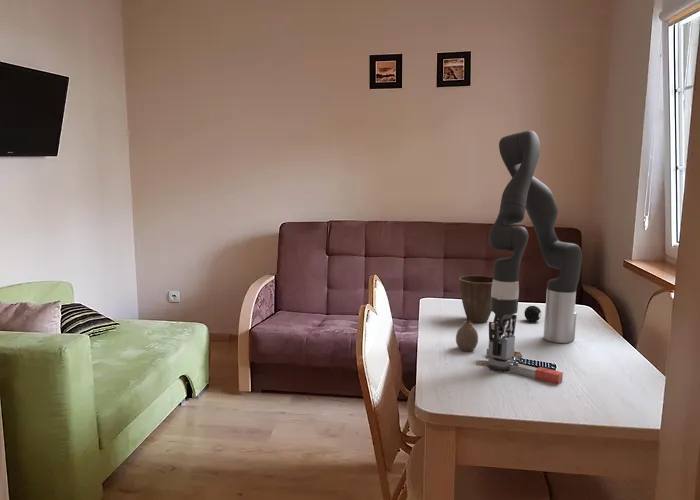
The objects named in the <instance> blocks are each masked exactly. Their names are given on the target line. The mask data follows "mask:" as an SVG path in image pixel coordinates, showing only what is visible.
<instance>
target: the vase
mask: <svg viewBox="0 0 700 500" xmlns="http://www.w3.org/2000/svg"><path fill="white" fill-rule="evenodd" d="M475 328H476V327H474V325H473V322H470V321H463V323H462V325H461V326H460V327H459V328H458V330H457V332H456V334H455V343H456V346H457V347H458V348H459V350H461V351H462V352H463V351H464V352H471V351H474V350H475V349H476V348H477V346H478V343H479V334H478V331H477V329H475Z"/></svg>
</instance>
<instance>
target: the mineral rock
mask: <svg viewBox="0 0 700 500" xmlns="http://www.w3.org/2000/svg"><path fill="white" fill-rule="evenodd" d="M488 349H489V347H488V348H486V356H487V359H488V358H489V356H488ZM512 357H516V358H522V357H523V355H522V353H521V352H520V351H515V350H514V356H512ZM522 359H523V358H522Z"/></svg>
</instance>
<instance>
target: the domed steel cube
mask: <svg viewBox="0 0 700 500" xmlns="http://www.w3.org/2000/svg"><path fill="white" fill-rule="evenodd" d="M499 332H502V331H499ZM499 336H500V335H499ZM492 337H493V335H492ZM515 339H516V335H515V334H514V335H509V334H508V333H507V332H505V336H503V337H502V342H501V355H500V356H494V355H493V354H492V352H493V342H490V341H489V340H488V356H491V357H495V358H499V359H503V360H507V359H509V358H511V357H512V356H514V351H515V344H516V343H515V342H516V340H515ZM488 356H487V357H488Z"/></svg>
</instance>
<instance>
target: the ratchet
mask: <svg viewBox="0 0 700 500" xmlns="http://www.w3.org/2000/svg"><path fill="white" fill-rule="evenodd" d="M487 359H488V362H487V368H488V369H489V370H491V371H493V372H497V373H513V374H517V375H519V376H523V377H529V378H533V379H535V380H538V381H543V382H545V383H549V384H553V385H557V386H558V385H559V384H561V383H563V378H564V372H563V371H559V370H555V369H551V368H547V367H544V366H543V367H542V366H539V367H535V366H531V365H527V364H523V363H519V362H520V361H514V359H513V358H512V357H511V358H509V359H507V360H503V359H499V358H495V357H491V356H489V358H488V357H487ZM513 361H514V362H513Z"/></svg>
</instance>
